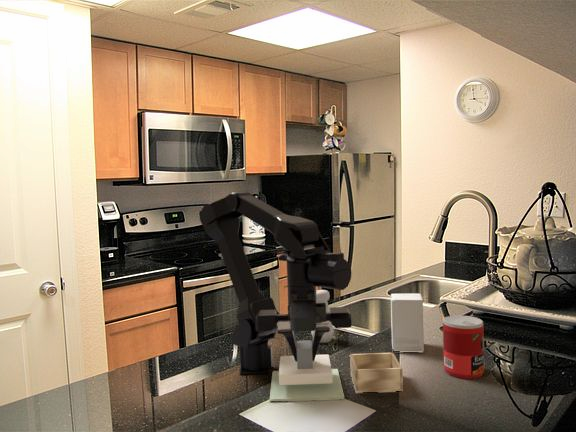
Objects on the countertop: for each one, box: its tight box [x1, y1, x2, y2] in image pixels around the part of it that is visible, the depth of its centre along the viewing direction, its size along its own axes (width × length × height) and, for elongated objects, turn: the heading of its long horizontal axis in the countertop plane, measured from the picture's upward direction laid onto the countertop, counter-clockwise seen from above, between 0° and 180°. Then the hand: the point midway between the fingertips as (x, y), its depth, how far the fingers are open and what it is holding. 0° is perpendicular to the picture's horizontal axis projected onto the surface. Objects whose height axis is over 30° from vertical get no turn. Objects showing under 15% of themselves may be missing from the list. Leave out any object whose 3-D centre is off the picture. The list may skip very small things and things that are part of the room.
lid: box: [278, 339, 333, 385], centre depth 98 cm, size 10×10×6 cm
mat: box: [269, 368, 345, 402], centre depth 99 cm, size 14×14×1 cm
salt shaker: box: [310, 289, 334, 344], centre depth 126 cm, size 6×6×13 cm
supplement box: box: [390, 293, 425, 352], centre depth 118 cm, size 7×7×13 cm
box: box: [349, 352, 404, 394], centre depth 98 cm, size 9×9×4 cm
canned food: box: [442, 314, 485, 380], centre depth 102 cm, size 8×8×11 cm
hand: (304, 360), depth 99 cm, fingers closed on lid, 3 cm apart
